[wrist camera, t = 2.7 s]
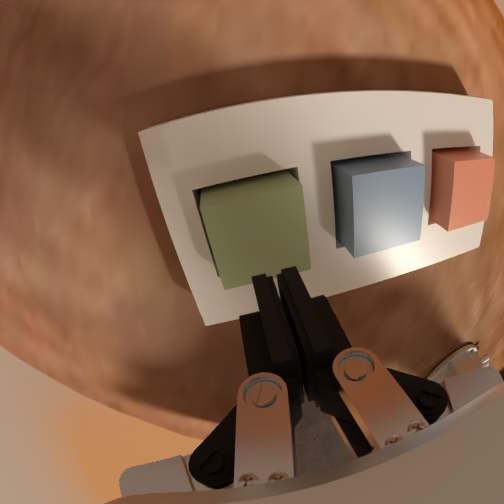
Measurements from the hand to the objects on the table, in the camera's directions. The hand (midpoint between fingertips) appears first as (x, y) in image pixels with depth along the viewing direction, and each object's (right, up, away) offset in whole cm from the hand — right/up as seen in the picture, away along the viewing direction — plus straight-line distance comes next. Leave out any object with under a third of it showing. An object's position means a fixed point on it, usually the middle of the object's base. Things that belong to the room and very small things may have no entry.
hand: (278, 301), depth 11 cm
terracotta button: (+15, +8, +7) cm, 18 cm away
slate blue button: (+7, +6, +7) cm, 12 cm away
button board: (+7, +7, +9) cm, 13 cm away
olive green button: (-1, +4, +7) cm, 8 cm away
